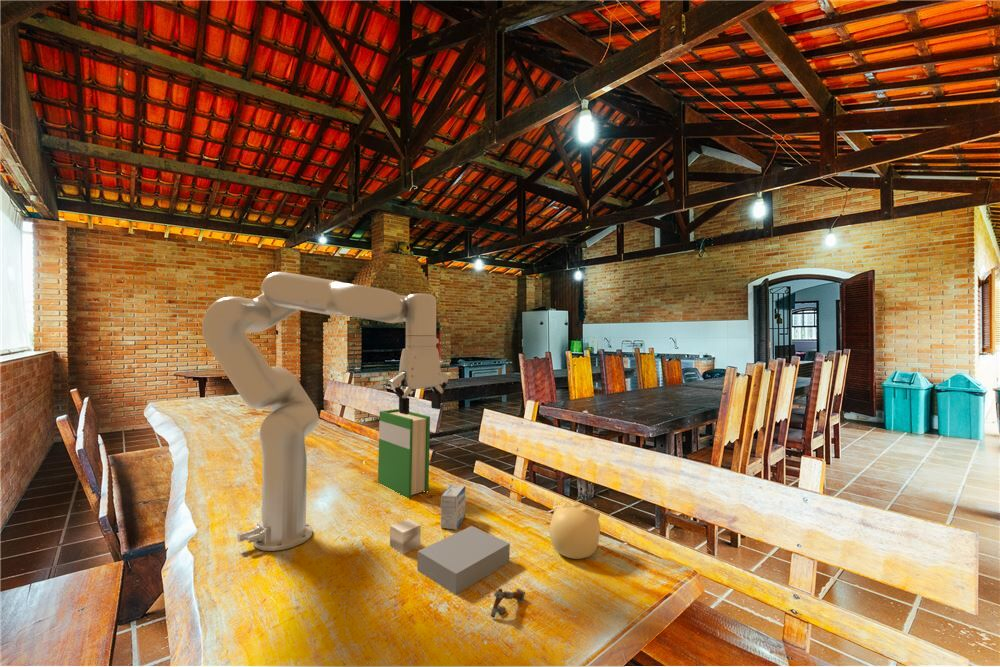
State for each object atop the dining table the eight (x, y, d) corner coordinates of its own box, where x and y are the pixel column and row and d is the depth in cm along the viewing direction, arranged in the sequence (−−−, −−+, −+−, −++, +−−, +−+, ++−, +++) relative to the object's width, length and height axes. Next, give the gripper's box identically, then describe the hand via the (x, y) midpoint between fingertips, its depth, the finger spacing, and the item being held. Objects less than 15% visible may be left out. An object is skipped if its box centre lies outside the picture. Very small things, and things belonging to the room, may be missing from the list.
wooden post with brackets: (484, 614, 72) (492, 586, 74) (511, 613, 77) (518, 587, 79) (492, 619, 71) (499, 590, 72) (519, 617, 76) (525, 591, 78)
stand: (455, 594, 79) (456, 573, 79) (417, 570, 87) (417, 551, 87) (509, 561, 91) (509, 543, 91) (471, 542, 99) (471, 525, 99)
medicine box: (456, 530, 105) (457, 496, 105) (440, 528, 106) (440, 494, 106) (465, 517, 112) (466, 485, 112) (449, 515, 113) (450, 484, 113)
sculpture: (601, 543, 100) (602, 499, 100) (596, 569, 88) (597, 519, 88) (555, 534, 103) (555, 492, 103) (544, 559, 92) (545, 511, 92)
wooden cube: (402, 554, 93) (402, 532, 93) (389, 546, 96) (390, 525, 96) (420, 546, 97) (420, 525, 97) (407, 539, 100) (408, 518, 100)
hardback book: (428, 492, 129) (430, 416, 129) (408, 499, 124) (410, 419, 124) (397, 478, 141) (398, 408, 141) (377, 483, 136) (379, 411, 136)
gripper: (438, 342, 112) (438, 405, 112) (382, 343, 99) (382, 413, 99) (456, 342, 107) (456, 408, 107) (399, 343, 94) (399, 418, 94)
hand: (420, 411), depth 103 cm, fingers open, 9 cm apart
